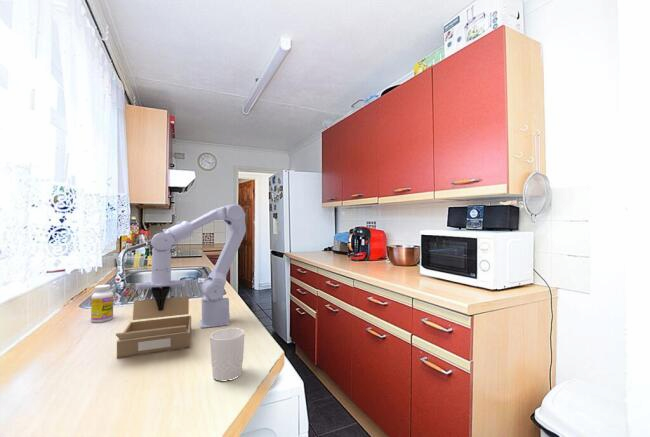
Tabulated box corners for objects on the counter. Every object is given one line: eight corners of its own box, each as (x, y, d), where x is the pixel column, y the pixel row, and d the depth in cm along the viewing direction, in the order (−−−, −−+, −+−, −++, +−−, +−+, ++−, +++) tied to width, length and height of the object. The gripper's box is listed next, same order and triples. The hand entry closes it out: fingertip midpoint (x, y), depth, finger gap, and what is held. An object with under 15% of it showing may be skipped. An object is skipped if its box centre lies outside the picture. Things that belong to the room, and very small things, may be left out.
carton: (191, 328, 105) (191, 315, 105) (189, 347, 89) (189, 332, 89) (130, 336, 98) (130, 322, 98) (116, 358, 82) (116, 341, 82)
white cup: (215, 367, 77) (215, 328, 77) (246, 366, 78) (246, 327, 78) (205, 384, 69) (205, 340, 69) (241, 382, 70) (241, 339, 70)
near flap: (185, 325, 84) (185, 326, 84) (186, 330, 89) (186, 331, 89) (115, 333, 78) (115, 335, 78) (120, 338, 83) (120, 340, 83)
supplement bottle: (101, 323, 110) (101, 288, 110) (86, 322, 111) (86, 287, 111) (117, 317, 116) (117, 284, 117) (103, 316, 118) (103, 283, 118)
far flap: (188, 314, 104) (188, 314, 105) (188, 296, 106) (188, 296, 106) (132, 320, 98) (133, 320, 98) (133, 301, 99) (134, 301, 100)
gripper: (133, 272, 95) (133, 315, 95) (184, 269, 100) (184, 310, 100) (137, 268, 101) (137, 309, 101) (185, 266, 107) (185, 305, 107)
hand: (161, 309), depth 101 cm, fingers closed, pressing on far flap
